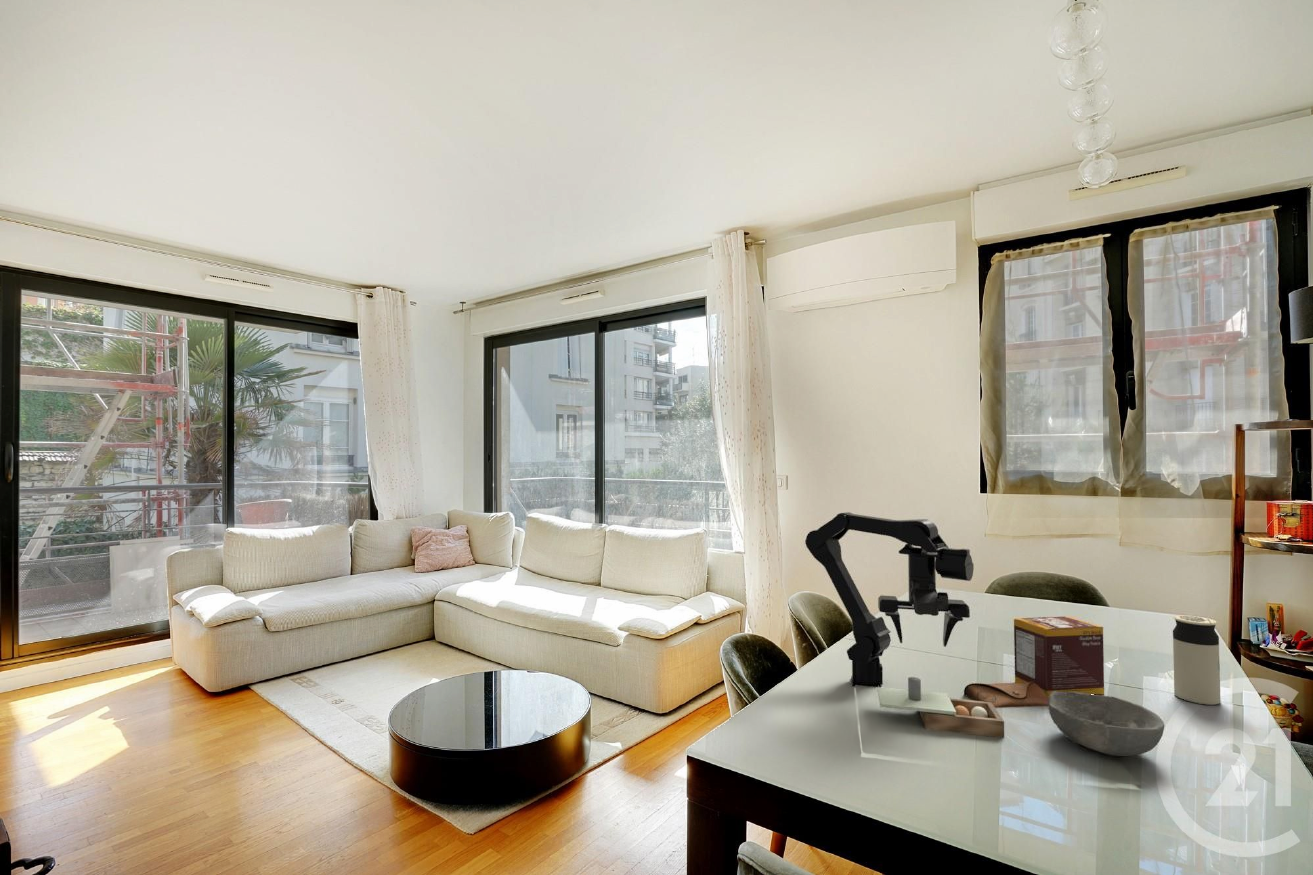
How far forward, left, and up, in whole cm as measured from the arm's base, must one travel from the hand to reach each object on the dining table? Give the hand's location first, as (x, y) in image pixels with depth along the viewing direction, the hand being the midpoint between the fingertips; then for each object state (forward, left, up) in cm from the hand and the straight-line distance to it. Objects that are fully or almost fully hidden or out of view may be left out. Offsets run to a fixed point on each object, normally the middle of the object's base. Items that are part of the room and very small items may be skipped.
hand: (922, 644), depth 143 cm
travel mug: (+60, +17, -12) cm, 64 cm away
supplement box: (+32, +16, -12) cm, 38 cm away
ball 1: (+5, -13, -11) cm, 18 cm away
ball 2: (+9, -12, -11) cm, 19 cm away
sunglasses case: (+19, +3, -13) cm, 23 cm away
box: (+5, -14, -12) cm, 19 cm away
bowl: (+29, -18, -12) cm, 36 cm away
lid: (-4, -14, -8) cm, 17 cm away
